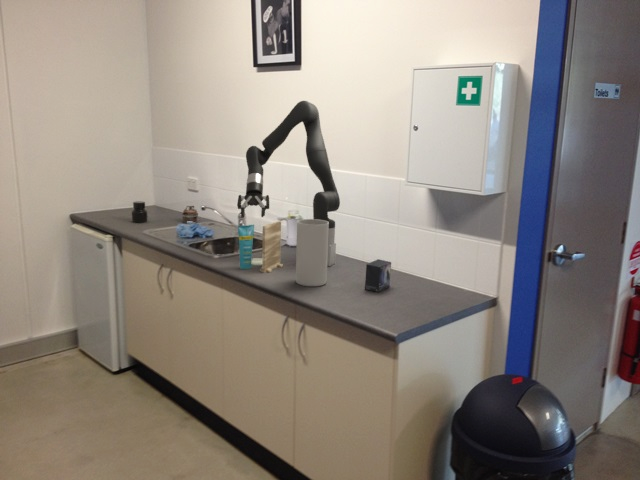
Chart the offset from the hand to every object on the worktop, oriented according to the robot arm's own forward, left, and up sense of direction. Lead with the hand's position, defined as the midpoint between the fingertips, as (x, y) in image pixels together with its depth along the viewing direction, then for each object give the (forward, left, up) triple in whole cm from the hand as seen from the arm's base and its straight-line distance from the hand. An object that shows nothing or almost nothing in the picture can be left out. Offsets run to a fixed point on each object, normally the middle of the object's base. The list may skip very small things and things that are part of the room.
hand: (252, 216), depth 256 cm
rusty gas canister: (+82, -63, -22) cm, 106 cm away
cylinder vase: (-37, +15, -22) cm, 45 cm away
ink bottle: (+107, -47, -22) cm, 119 cm away
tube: (-3, +10, -22) cm, 24 cm away
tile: (-3, -1, -21) cm, 22 cm away
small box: (-63, +8, -22) cm, 67 cm away
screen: (-13, +5, -21) cm, 25 cm away
